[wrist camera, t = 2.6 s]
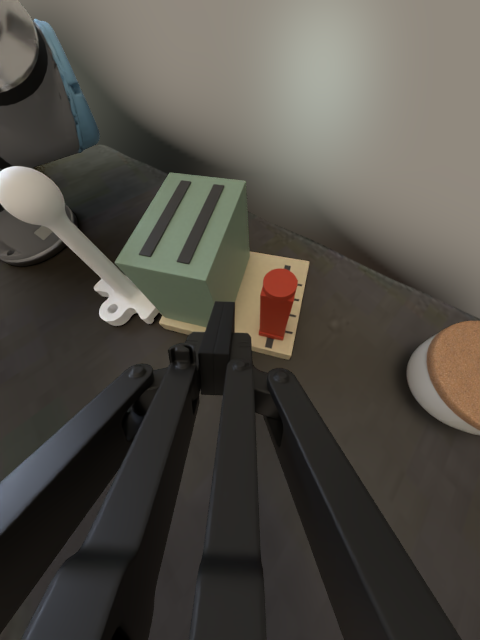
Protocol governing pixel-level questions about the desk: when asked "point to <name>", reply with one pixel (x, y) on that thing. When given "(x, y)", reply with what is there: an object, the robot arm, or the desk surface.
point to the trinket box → (449, 376)
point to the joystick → (72, 241)
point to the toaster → (205, 259)
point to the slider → (276, 302)
